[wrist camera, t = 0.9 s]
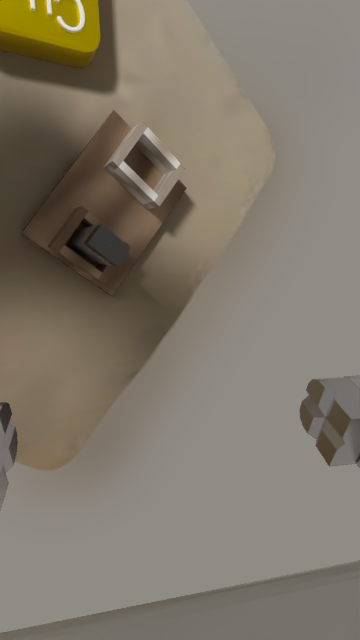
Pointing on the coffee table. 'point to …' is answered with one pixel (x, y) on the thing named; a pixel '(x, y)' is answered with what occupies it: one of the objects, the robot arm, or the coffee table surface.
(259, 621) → the robot arm
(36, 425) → the coffee table surface
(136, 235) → the caddy
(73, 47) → the element tile
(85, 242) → the brushed metal bar
